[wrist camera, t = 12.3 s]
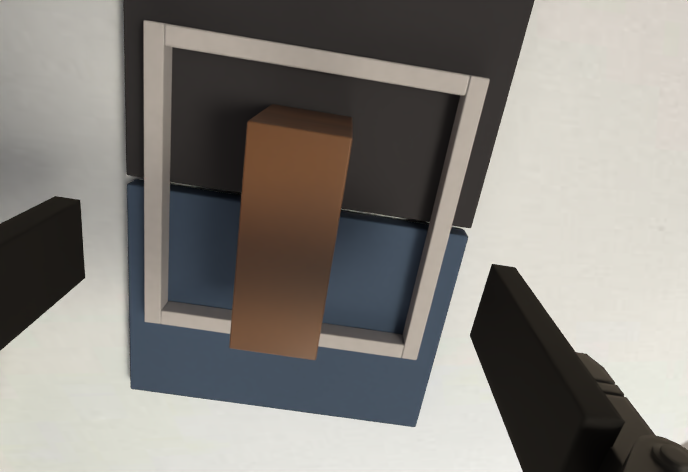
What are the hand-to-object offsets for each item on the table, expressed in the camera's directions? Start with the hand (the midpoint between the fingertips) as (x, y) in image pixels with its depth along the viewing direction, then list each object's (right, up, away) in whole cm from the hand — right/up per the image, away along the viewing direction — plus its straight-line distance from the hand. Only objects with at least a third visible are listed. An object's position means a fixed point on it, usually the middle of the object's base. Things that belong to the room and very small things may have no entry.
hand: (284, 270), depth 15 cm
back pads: (0, +3, +7) cm, 8 cm away
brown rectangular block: (0, +2, +7) cm, 7 cm away
